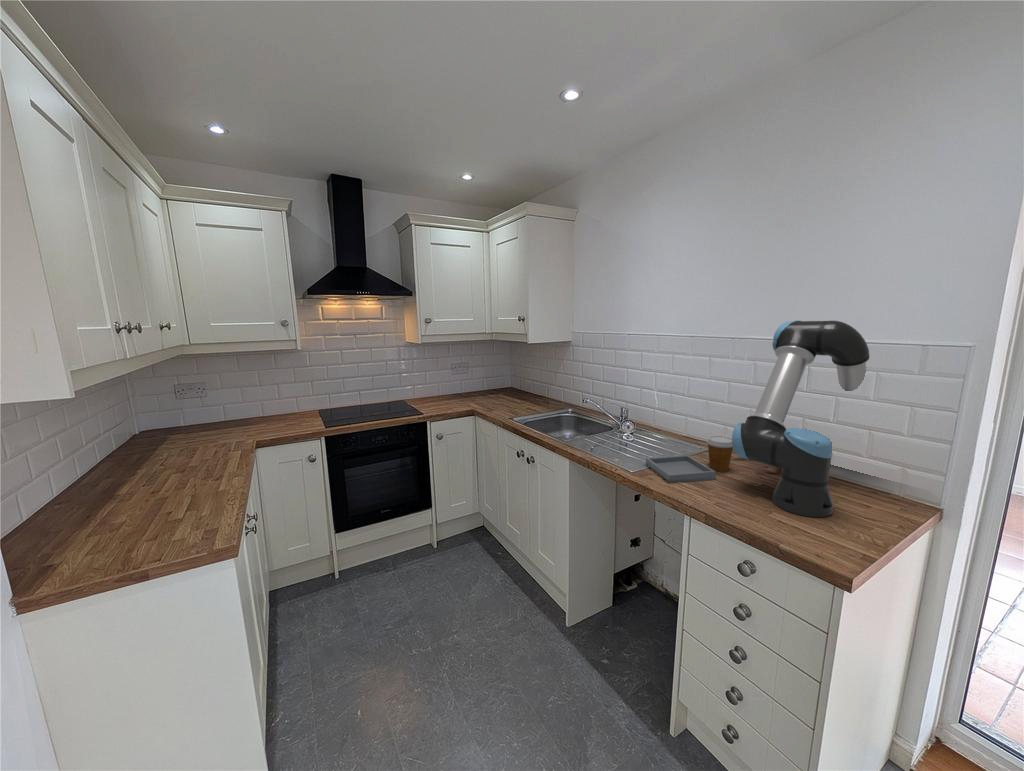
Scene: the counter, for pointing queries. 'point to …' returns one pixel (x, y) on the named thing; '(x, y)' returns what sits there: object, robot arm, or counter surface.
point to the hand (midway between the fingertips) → (742, 451)
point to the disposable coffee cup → (719, 452)
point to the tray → (680, 469)
